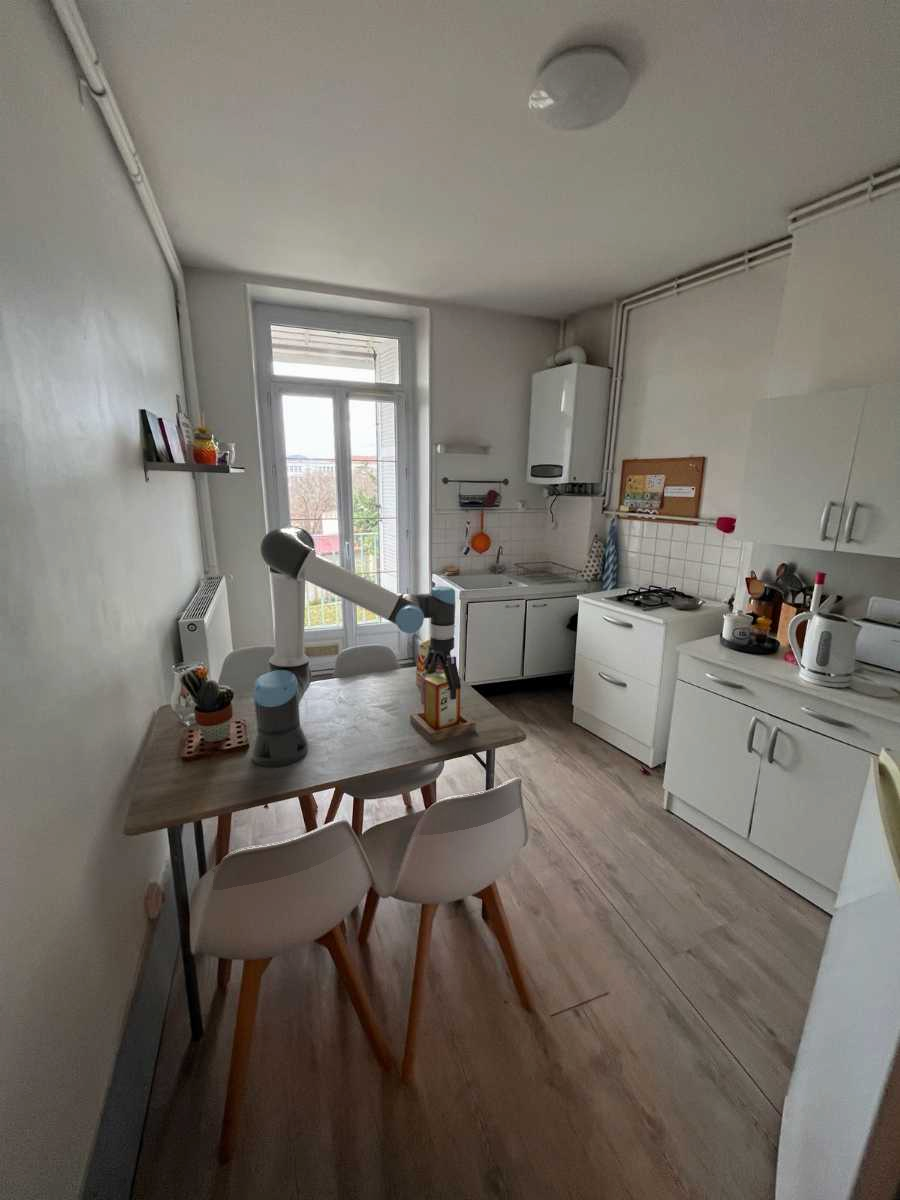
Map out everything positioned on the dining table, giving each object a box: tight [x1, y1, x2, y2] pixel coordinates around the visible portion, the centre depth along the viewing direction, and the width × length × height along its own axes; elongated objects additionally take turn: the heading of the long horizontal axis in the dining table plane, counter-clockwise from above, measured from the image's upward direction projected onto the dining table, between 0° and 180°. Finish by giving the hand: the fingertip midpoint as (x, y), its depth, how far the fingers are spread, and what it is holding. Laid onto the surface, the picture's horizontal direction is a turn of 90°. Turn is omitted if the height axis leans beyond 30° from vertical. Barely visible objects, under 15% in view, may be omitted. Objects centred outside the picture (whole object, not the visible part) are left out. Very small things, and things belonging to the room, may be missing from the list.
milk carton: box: [415, 638, 444, 688], centre depth 189 cm, size 9×9×20 cm
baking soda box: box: [423, 673, 461, 731], centre depth 155 cm, size 10×6×16 cm
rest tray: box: [409, 710, 476, 744], centre depth 157 cm, size 16×15×3 cm
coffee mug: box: [420, 670, 444, 704], centre depth 177 cm, size 13×10×10 cm
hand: (441, 699), depth 155 cm, fingers open, 13 cm apart
